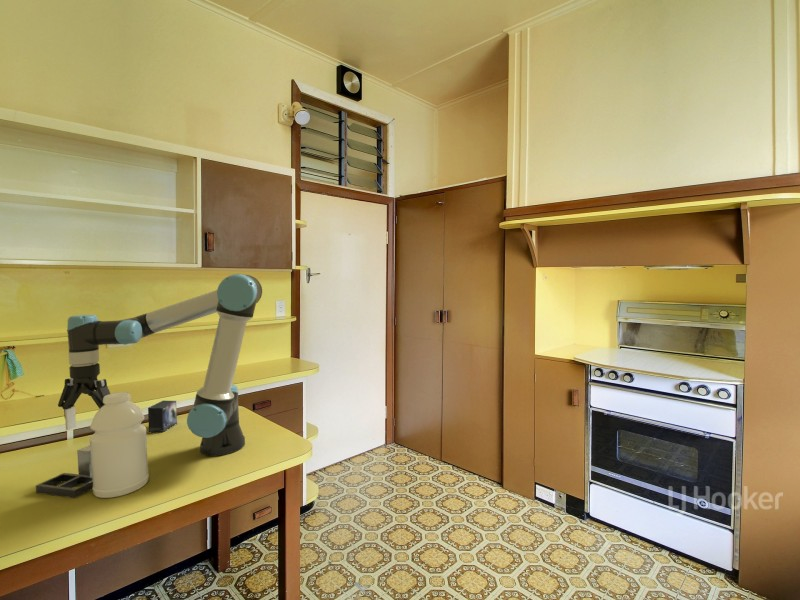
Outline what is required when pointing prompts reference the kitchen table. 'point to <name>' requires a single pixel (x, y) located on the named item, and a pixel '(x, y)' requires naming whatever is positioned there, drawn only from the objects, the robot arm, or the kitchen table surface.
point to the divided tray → (66, 485)
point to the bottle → (118, 447)
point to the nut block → (84, 461)
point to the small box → (162, 416)
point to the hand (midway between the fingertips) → (87, 430)
